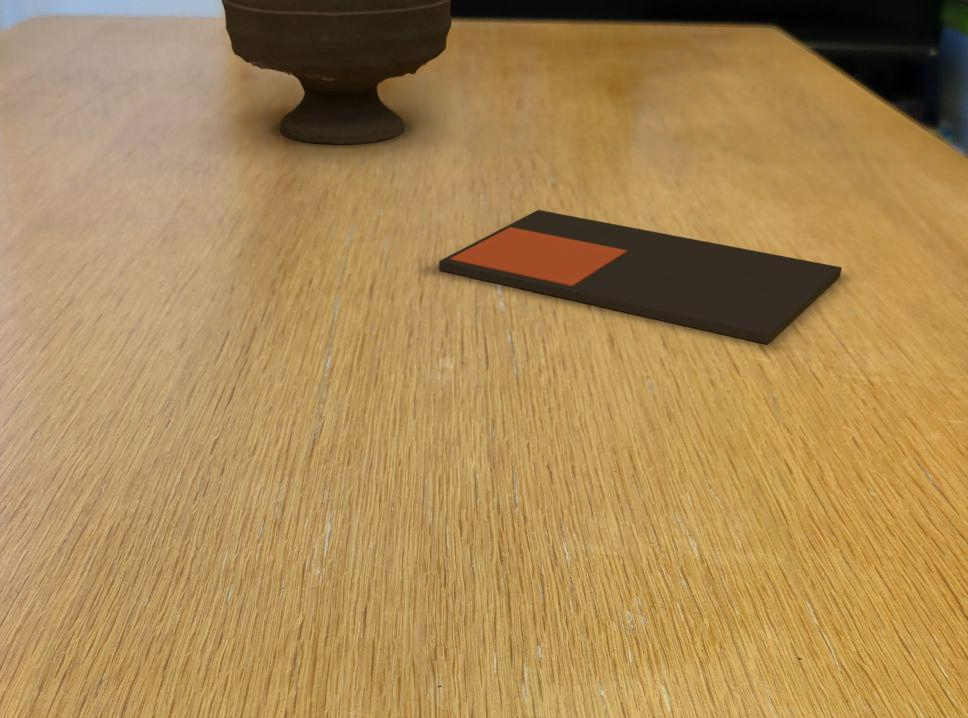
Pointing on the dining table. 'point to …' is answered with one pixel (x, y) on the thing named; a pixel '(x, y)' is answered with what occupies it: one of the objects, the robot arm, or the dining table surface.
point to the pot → (339, 57)
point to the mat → (648, 274)
